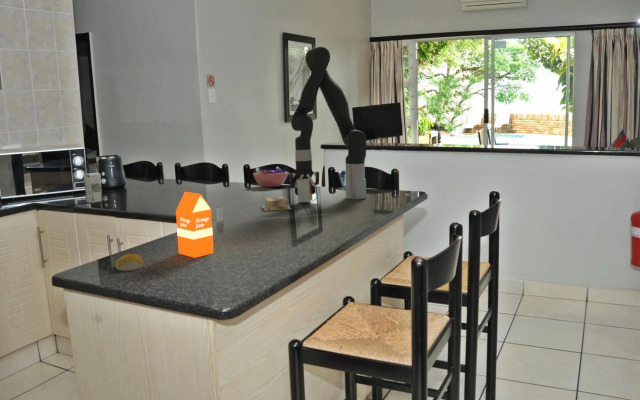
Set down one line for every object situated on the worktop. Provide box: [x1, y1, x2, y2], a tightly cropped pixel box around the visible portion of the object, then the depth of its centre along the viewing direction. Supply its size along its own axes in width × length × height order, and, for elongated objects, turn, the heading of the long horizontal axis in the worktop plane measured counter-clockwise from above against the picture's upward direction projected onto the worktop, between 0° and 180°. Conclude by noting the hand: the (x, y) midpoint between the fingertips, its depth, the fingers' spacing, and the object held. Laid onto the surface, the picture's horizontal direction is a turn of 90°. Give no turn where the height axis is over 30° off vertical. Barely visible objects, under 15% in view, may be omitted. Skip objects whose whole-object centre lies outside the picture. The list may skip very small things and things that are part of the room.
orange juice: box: [175, 191, 214, 259], centre depth 190 cm, size 8×9×20 cm
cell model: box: [252, 166, 290, 188], centre depth 327 cm, size 17×20×11 cm
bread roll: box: [114, 253, 144, 272], centre depth 177 cm, size 8×9×4 cm
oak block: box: [264, 196, 289, 211], centre depth 263 cm, size 9×9×4 cm
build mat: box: [261, 204, 292, 212], centre depth 263 cm, size 12×10×1 cm
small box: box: [296, 177, 313, 203], centre depth 271 cm, size 8×6×10 cm
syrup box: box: [83, 172, 103, 204], centre depth 291 cm, size 6×6×14 cm
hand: (305, 194), depth 272 cm, fingers closed on small box, 7 cm apart
